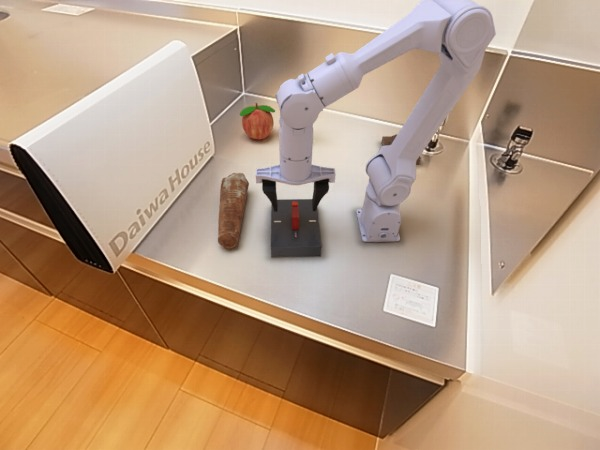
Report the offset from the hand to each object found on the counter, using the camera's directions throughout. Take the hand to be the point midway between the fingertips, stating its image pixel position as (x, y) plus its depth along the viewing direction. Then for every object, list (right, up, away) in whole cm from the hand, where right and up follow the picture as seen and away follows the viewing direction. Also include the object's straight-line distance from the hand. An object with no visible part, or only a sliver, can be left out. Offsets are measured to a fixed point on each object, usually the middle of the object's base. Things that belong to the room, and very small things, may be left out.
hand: (295, 208), depth 74 cm
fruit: (-11, +22, +30) cm, 39 cm away
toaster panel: (0, -5, +5) cm, 7 cm away
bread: (-13, -2, +8) cm, 15 cm away
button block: (+28, +16, +26) cm, 41 cm away
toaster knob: (0, -3, +3) cm, 4 cm away
